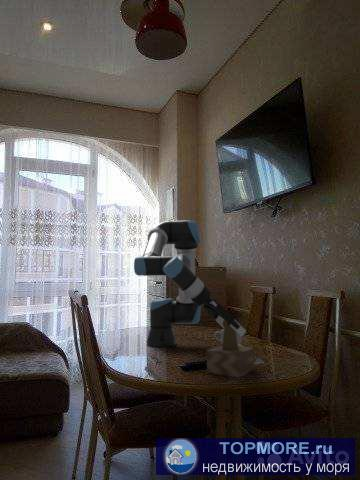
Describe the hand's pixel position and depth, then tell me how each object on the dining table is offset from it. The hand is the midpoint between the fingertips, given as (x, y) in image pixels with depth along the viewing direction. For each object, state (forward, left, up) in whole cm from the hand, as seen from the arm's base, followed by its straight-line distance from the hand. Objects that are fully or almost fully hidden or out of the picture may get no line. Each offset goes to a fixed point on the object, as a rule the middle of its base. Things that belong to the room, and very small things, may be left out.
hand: (235, 331), depth 138 cm
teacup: (-23, +39, -15) cm, 48 cm away
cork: (-2, -2, -7) cm, 7 cm away
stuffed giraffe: (-6, +16, -15) cm, 23 cm away
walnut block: (-1, -2, -14) cm, 15 cm away
